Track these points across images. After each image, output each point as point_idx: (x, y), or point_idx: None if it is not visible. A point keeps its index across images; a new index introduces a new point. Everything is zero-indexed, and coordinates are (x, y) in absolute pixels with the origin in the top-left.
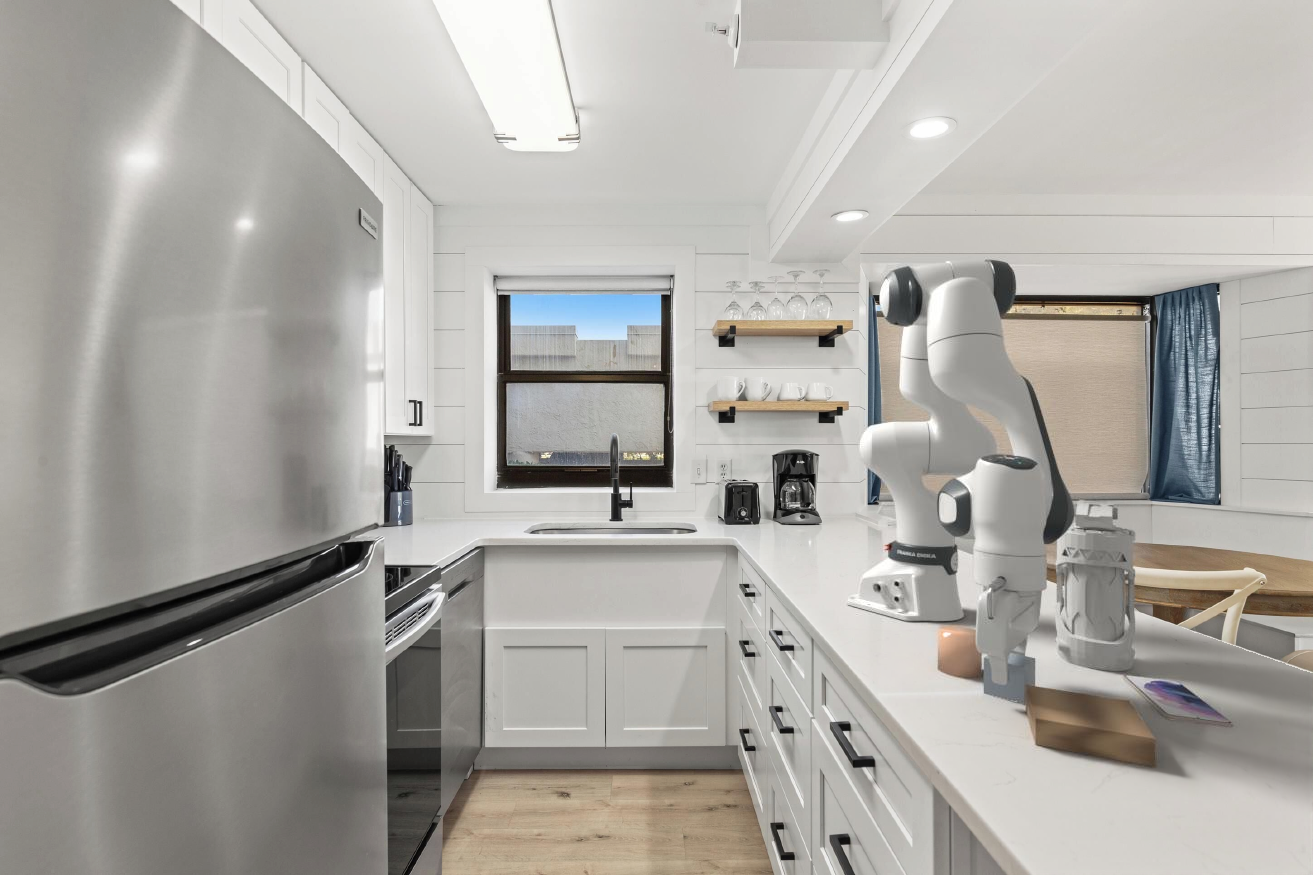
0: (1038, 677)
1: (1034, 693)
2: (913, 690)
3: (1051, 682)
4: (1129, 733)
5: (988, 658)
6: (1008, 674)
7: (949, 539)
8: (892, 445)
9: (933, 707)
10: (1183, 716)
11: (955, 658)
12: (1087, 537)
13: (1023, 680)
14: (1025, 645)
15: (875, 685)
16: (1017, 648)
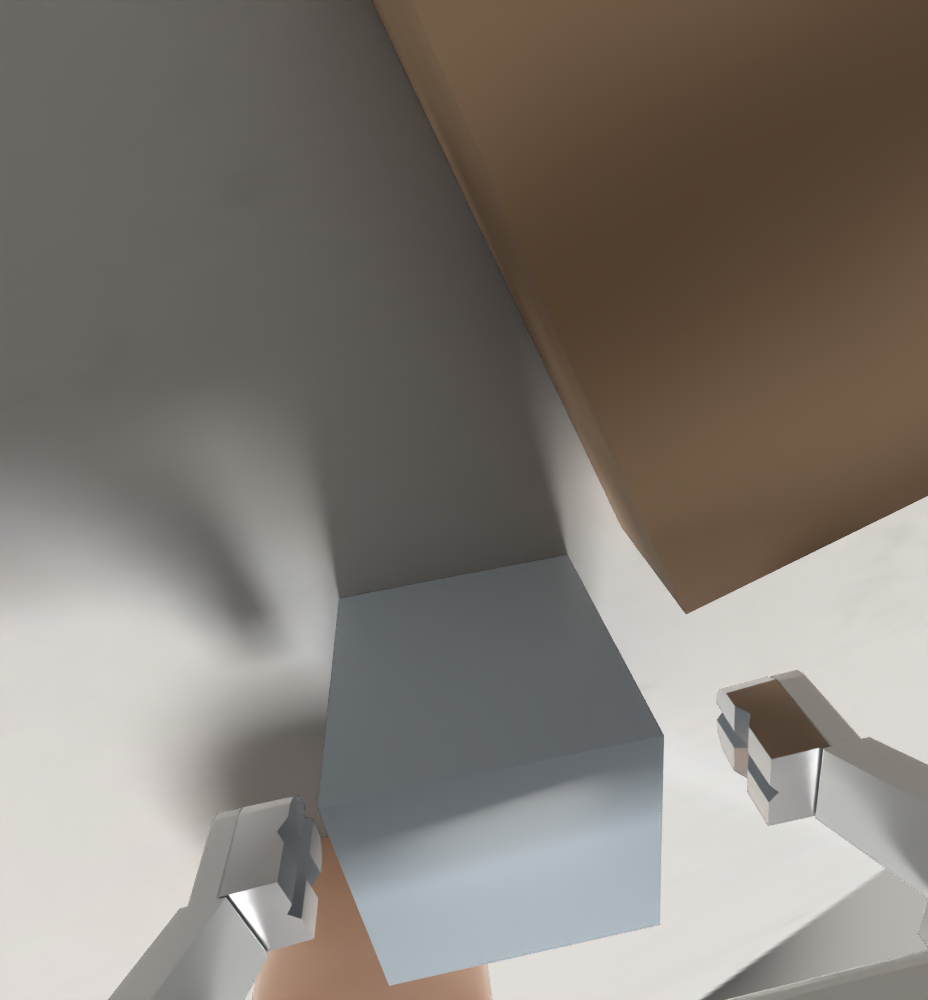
0: (26, 712)
1: (836, 502)
2: (780, 835)
3: (22, 640)
4: None
5: (653, 908)
6: (787, 723)
7: None
8: None
9: (918, 719)
10: None
11: (483, 966)
12: None
13: (619, 656)
14: (171, 977)
15: (826, 899)
16: (228, 959)
